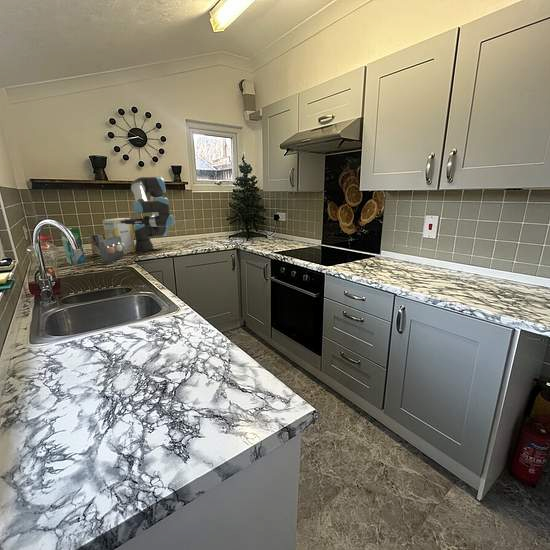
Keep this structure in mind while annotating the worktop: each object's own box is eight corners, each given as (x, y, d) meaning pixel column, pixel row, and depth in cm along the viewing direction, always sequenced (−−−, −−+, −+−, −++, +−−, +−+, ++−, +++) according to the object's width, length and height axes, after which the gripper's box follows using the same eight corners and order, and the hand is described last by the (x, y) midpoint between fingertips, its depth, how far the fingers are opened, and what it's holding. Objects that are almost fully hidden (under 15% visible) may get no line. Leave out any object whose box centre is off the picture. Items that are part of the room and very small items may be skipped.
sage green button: (125, 248, 230) (124, 242, 229) (122, 249, 226) (121, 243, 225) (121, 248, 230) (120, 242, 229) (118, 249, 226) (117, 243, 225)
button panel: (124, 256, 234) (120, 236, 229) (108, 264, 211) (104, 241, 206) (113, 256, 234) (110, 236, 229) (96, 264, 211) (92, 241, 206)
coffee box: (107, 254, 245) (104, 234, 240) (101, 255, 239) (97, 235, 234) (99, 253, 247) (95, 234, 243) (92, 255, 241) (88, 235, 237)
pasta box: (119, 256, 236) (113, 220, 228) (108, 255, 239) (102, 220, 231) (135, 251, 253) (130, 218, 245) (125, 250, 256) (120, 218, 248)
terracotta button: (115, 252, 215) (114, 246, 213) (112, 254, 210) (111, 247, 209) (111, 252, 215) (110, 246, 213) (107, 254, 210) (106, 248, 209)
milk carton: (81, 260, 223) (74, 227, 216) (85, 262, 217) (78, 228, 210) (67, 263, 216) (59, 228, 209) (71, 264, 210) (63, 229, 203)
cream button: (122, 250, 222) (121, 244, 221) (120, 251, 218) (119, 245, 217) (118, 250, 222) (117, 244, 221) (115, 251, 218) (114, 245, 217)
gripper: (153, 214, 212) (120, 215, 212) (146, 216, 199) (111, 217, 199) (155, 225, 214) (122, 226, 214) (148, 227, 201) (113, 228, 201)
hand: (117, 221), depth 206 cm, fingers closed
